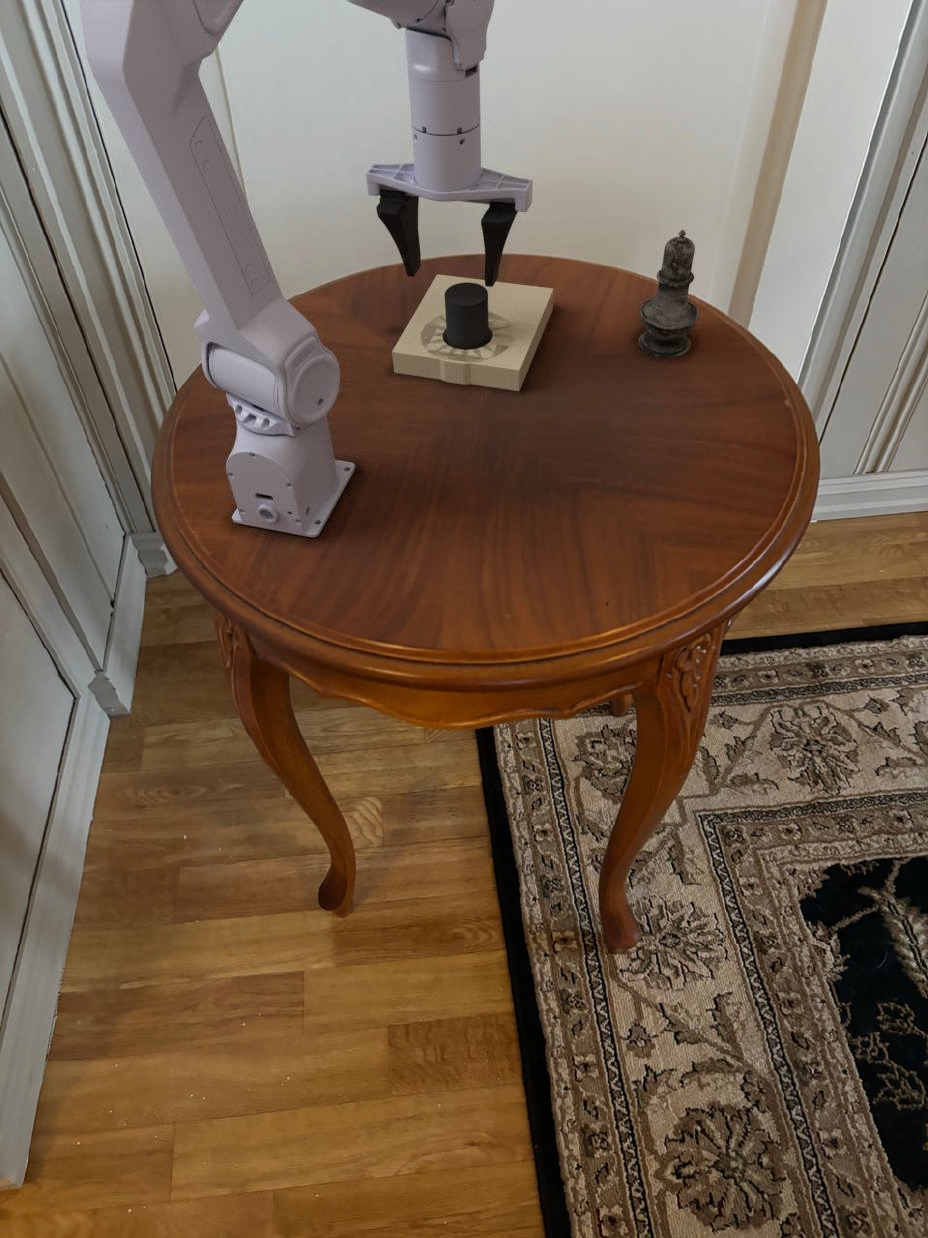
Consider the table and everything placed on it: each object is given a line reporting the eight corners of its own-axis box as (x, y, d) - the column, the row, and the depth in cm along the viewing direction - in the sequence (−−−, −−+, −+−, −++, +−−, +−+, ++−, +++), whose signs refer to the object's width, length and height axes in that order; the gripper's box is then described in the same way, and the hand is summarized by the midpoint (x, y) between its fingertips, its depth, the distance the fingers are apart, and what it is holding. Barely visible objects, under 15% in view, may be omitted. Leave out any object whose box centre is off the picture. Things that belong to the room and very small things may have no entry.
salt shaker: (625, 348, 91) (639, 234, 82) (651, 321, 94) (668, 208, 85) (677, 366, 89) (698, 251, 79) (703, 337, 92) (726, 224, 82)
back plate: (518, 393, 87) (519, 371, 85) (393, 374, 89) (390, 352, 87) (552, 309, 96) (554, 288, 94) (438, 294, 99) (437, 273, 97)
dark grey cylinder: (482, 370, 89) (481, 307, 84) (442, 365, 90) (438, 302, 85) (493, 347, 92) (492, 284, 86) (454, 341, 93) (451, 279, 87)
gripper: (543, 109, 74) (537, 263, 84) (379, 95, 77) (393, 246, 87) (522, 145, 70) (519, 302, 80) (350, 128, 73) (368, 283, 83)
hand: (452, 276), depth 84 cm, fingers open, 7 cm apart
